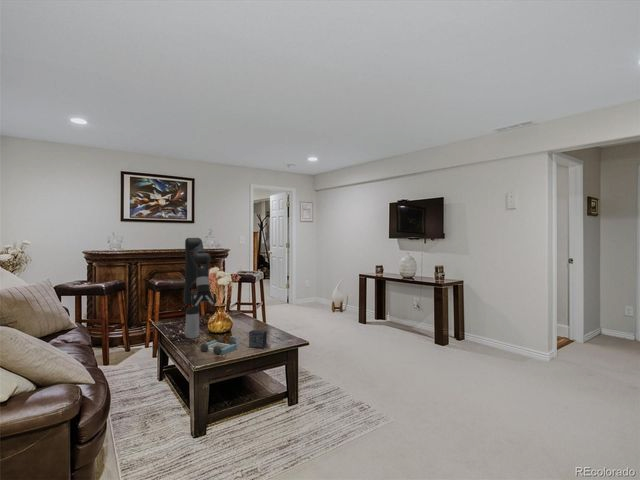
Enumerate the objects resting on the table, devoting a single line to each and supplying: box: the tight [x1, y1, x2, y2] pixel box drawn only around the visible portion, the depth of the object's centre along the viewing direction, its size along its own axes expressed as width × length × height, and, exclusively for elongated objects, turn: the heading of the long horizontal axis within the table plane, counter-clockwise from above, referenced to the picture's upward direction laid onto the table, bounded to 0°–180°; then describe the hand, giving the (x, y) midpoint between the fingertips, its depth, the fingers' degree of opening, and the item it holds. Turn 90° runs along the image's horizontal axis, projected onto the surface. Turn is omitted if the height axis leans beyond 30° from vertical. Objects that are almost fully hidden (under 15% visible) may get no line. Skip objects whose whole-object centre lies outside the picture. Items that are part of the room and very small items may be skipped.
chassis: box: [199, 337, 238, 356], centre depth 231 cm, size 20×16×5 cm
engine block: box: [229, 334, 242, 346], centre depth 244 cm, size 6×4×5 cm
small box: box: [248, 329, 268, 350], centre depth 237 cm, size 11×6×10 cm, turn 77°
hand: (204, 311), depth 210 cm, fingers open, 8 cm apart
